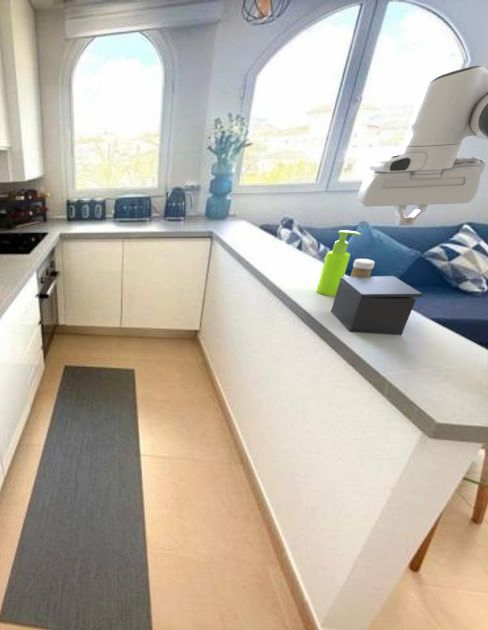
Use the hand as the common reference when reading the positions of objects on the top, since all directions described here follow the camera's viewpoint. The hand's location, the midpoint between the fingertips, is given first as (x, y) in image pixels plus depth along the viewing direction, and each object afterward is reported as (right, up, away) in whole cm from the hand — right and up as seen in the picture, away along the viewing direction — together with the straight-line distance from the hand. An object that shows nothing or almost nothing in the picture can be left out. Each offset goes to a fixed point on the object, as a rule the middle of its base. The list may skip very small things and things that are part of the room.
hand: (403, 224), depth 80 cm
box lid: (+2, -14, +9) cm, 17 cm away
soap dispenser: (+7, -14, +32) cm, 36 cm away
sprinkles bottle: (+8, -18, +24) cm, 31 cm away
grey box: (+2, -23, +14) cm, 27 cm away
